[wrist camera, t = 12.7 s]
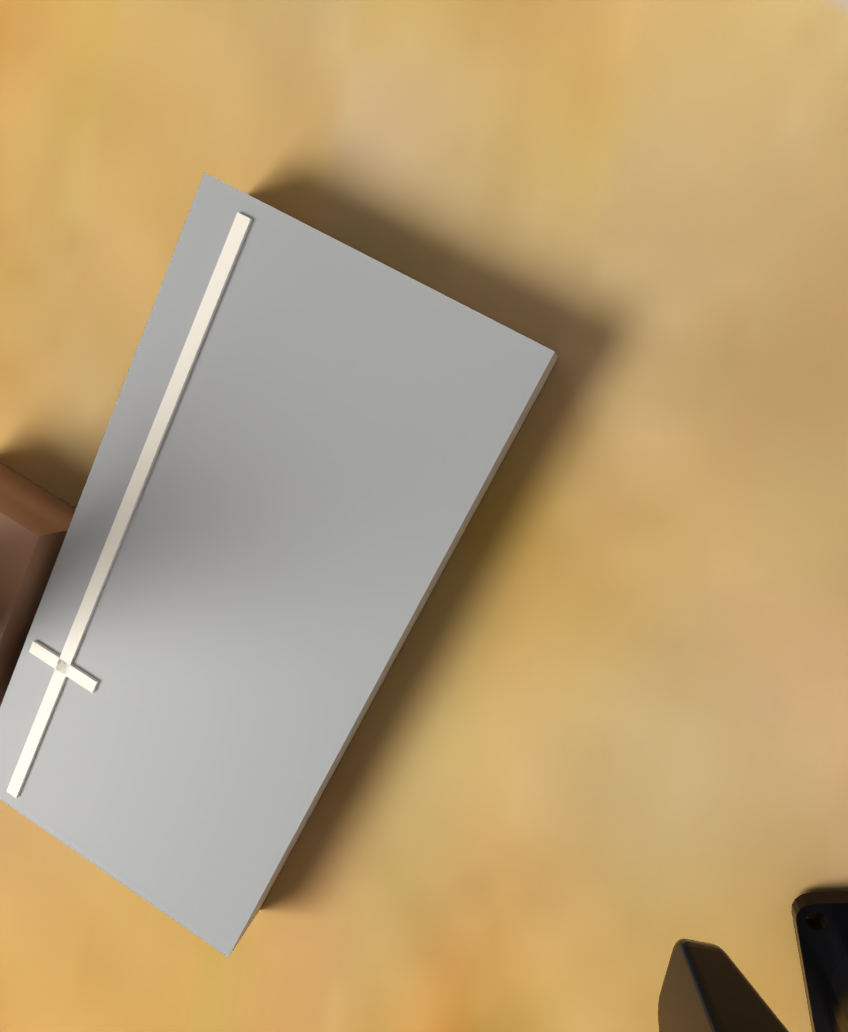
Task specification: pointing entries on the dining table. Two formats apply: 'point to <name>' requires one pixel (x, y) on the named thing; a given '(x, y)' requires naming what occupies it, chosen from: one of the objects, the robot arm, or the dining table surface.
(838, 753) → the dining table surface
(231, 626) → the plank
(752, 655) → the dining table surface
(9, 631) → the newel post
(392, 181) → the dining table surface
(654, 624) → the dining table surface
